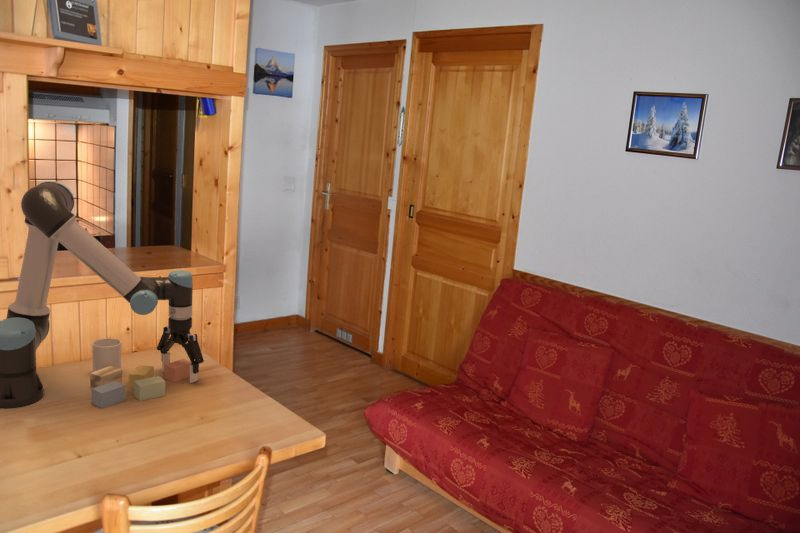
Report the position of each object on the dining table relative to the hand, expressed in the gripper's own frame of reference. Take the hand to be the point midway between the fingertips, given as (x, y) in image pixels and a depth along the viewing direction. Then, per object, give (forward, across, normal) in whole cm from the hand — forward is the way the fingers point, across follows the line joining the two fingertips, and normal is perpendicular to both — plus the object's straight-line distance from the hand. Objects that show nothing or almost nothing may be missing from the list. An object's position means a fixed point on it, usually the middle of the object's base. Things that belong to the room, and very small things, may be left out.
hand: (179, 376), depth 223 cm
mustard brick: (0, -4, -12) cm, 13 cm away
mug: (0, -20, -13) cm, 24 cm away
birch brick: (0, -11, -20) cm, 23 cm away
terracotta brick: (0, 0, 0) cm, 0 cm away
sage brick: (0, +5, -16) cm, 17 cm away
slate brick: (0, 0, -27) cm, 27 cm away
